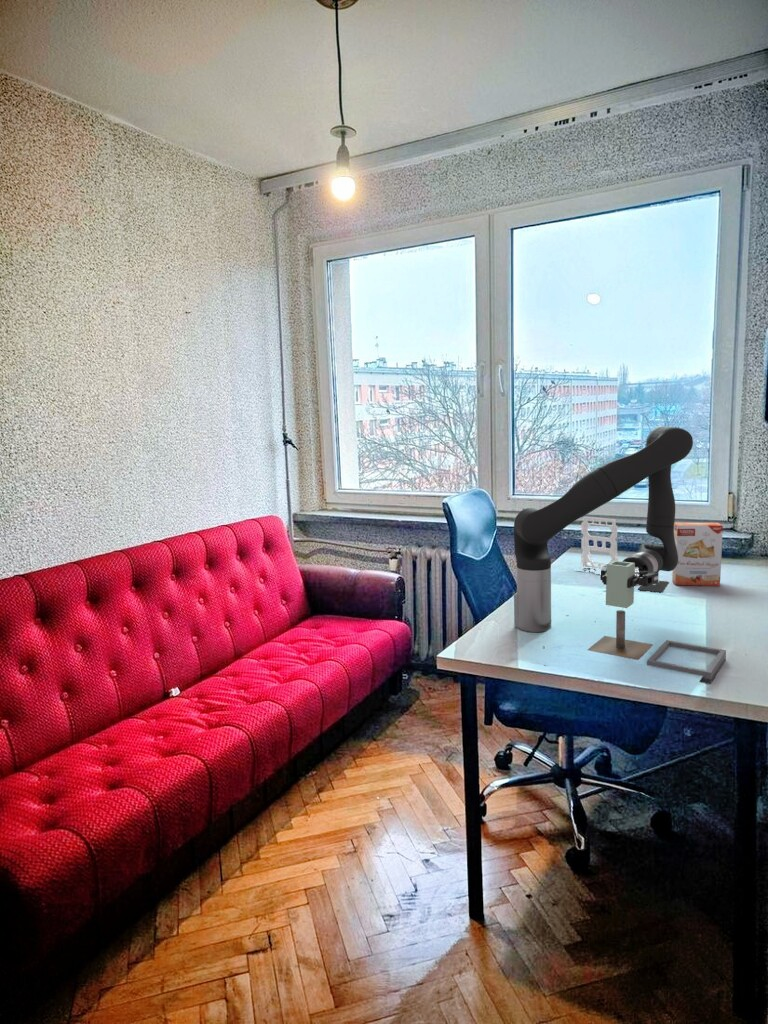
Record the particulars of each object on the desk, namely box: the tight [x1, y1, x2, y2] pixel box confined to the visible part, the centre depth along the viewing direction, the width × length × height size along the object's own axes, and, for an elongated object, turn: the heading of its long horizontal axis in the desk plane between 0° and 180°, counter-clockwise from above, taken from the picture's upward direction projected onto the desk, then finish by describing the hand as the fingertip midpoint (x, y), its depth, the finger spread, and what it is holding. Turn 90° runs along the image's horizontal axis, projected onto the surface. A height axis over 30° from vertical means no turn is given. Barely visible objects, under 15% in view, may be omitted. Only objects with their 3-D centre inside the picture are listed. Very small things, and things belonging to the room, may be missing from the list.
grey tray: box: [646, 639, 727, 685], centre depth 143 cm, size 13×16×2 cm
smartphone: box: [637, 580, 669, 594], centre depth 210 cm, size 8×15×1 cm, turn 148°
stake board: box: [587, 609, 654, 660], centre depth 151 cm, size 12×12×10 cm
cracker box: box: [671, 522, 724, 587], centre depth 210 cm, size 14×6×21 cm, turn 76°
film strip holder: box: [574, 516, 620, 573], centre depth 235 cm, size 14×14×20 cm
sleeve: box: [605, 560, 635, 609], centre depth 150 cm, size 5×5×10 cm
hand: (616, 582), depth 148 cm, fingers closed on sleeve, 5 cm apart
